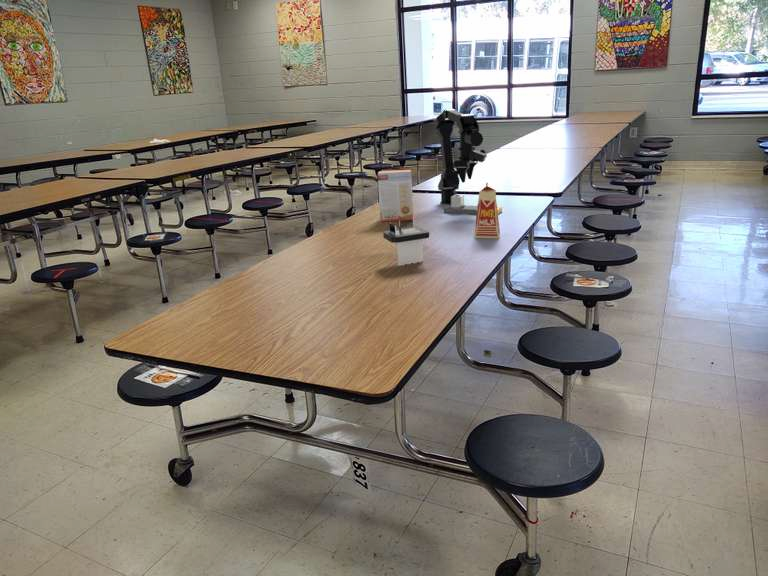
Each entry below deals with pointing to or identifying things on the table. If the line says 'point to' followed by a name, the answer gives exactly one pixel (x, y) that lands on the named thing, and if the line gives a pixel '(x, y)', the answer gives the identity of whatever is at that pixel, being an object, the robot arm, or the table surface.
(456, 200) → the grey rectangular block
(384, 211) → the cracker box
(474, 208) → the rail
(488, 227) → the milk carton
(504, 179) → the table surface
